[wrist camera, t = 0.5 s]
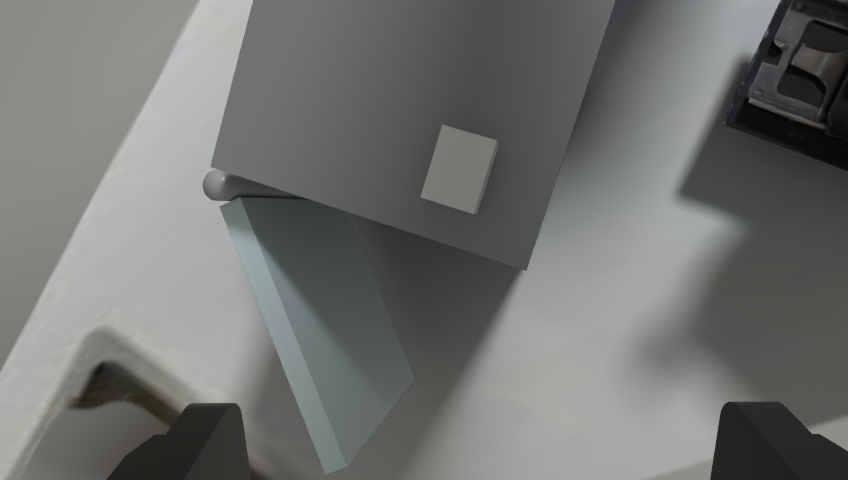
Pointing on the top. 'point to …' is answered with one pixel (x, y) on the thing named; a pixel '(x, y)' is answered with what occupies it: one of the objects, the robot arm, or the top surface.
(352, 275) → the side door
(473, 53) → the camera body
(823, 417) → the top surface
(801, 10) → the vintage camera
